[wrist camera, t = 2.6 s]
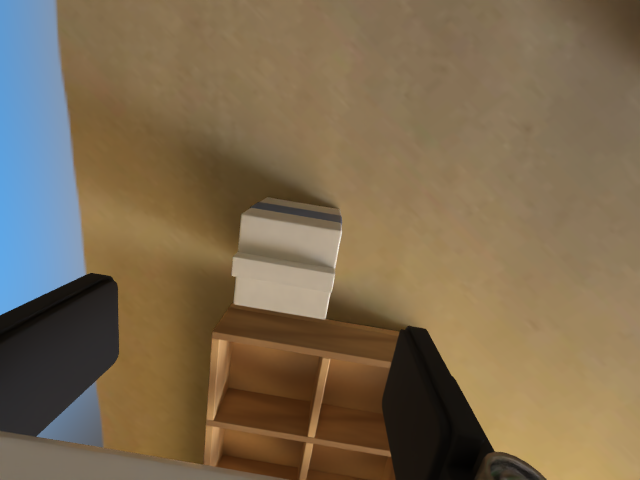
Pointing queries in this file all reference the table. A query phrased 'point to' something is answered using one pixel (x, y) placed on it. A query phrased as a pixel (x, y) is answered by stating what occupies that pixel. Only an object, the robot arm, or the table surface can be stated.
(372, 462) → the compartment tray
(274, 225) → the milk carton
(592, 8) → the table surface
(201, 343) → the table surface
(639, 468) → the table surface
